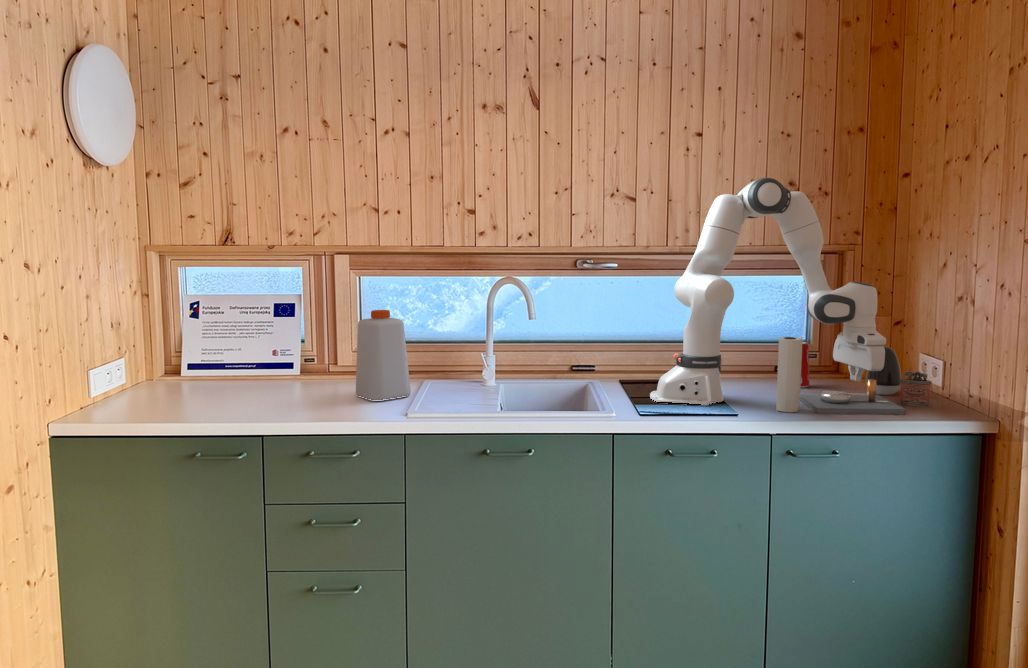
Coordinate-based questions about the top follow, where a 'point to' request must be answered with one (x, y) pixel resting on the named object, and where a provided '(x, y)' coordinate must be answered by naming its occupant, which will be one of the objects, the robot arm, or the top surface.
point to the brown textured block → (915, 389)
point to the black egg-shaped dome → (887, 374)
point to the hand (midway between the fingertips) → (855, 380)
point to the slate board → (851, 406)
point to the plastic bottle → (381, 358)
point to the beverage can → (805, 365)
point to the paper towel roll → (789, 374)
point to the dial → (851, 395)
